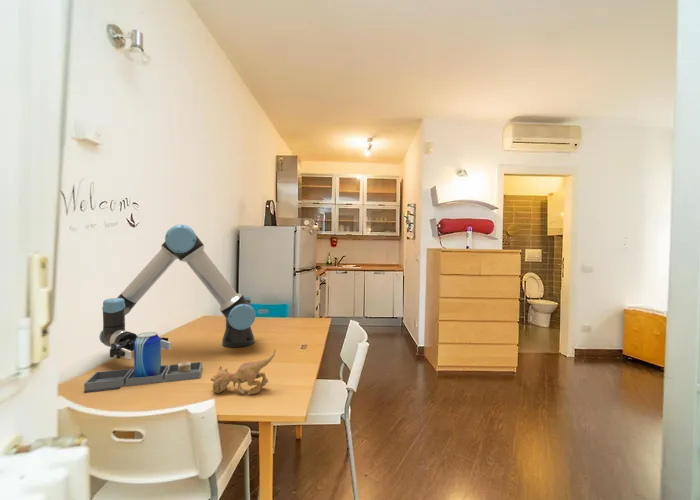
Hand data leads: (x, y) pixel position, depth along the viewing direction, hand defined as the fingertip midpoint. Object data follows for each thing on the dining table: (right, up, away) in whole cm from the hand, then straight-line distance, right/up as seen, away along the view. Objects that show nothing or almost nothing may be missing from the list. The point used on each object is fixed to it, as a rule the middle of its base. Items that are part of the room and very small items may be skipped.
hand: (151, 350), depth 131 cm
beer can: (-2, -11, +2) cm, 11 cm away
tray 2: (+9, -11, +5) cm, 15 cm away
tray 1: (-13, -11, -2) cm, 18 cm away
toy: (+35, -11, -9) cm, 38 cm away
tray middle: (-2, -11, +2) cm, 11 cm away
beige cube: (+9, -10, +5) cm, 15 cm away
